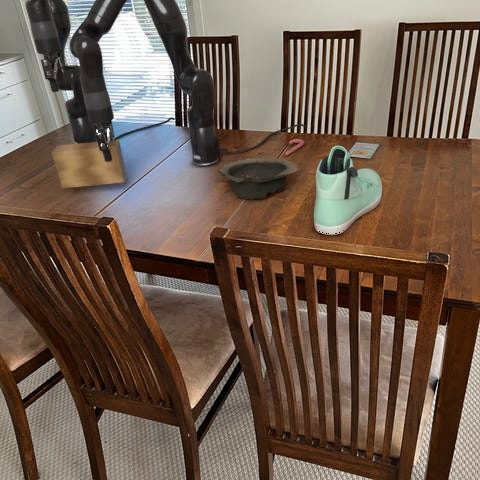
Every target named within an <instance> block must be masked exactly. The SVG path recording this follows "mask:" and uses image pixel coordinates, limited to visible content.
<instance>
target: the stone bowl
mask: <svg viewBox="0 0 480 480" xmlns="http://www.w3.org/2000/svg"><path fill="white" fill-rule="evenodd" d="M298 170H299V169H298V167H297V166H296V164H295V163H293V162H291V161H289V160H287V159H281V158H272V157H271V158H269V157H255V158H243V159H239V160H235V161H232V162H231V161H230V162H228V163H225V164H223V165H222V166H221V168H220V169H219V170H217V173H219V174H220V175H221V176H223V177H224V178H226V179H227V180H228V182H229V186H230V188H231V190H232V191H234V192H235V193H236V196H237V198H239V199H241V200H243V199H245V200H251V201H252V200H255V199H257V200H262V199H264V198H266V197H267V196H268V193H269V194H273V193H281V192H282V191H284V190H285V189H284V188H285V185H286V183H287V182H286V181H287V177H289V176H290V175H292V174H294V173H296V172H297V171H298Z"/></svg>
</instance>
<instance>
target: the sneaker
mask: <svg viewBox="0 0 480 480" xmlns="http://www.w3.org/2000/svg"><path fill="white" fill-rule="evenodd" d="M348 152H349V151H348V150H347V148H345V147H344V146H342V145H334V146H333V147H331V149H330V151H329V154H327V155H326V156H325V157H324V158H322V159H321V160H320V161H319V163H318V164H317V165H318V166H317V168H316V172H315V201H314V207H313V225H314V229H315V231H316V232H318V233H320V234H323V235H326V236H327V235H328V236H336V235H339V234H342V233H344V232H345V231H347V230H348V229H349V228H350V227H351V226H352V225H353V224H354V222H356V221H357V220H358V219H359V218H360V217H362V216H363V215H365V214H367V213H370V212H372V210H374V209H375V208H377V207H378V205H380V203H381V200H382V196H383V184H382V183H383V182H382V179H381V176H380V175H379V173H378V172H377V171H376V170H374V169H372V168H367V167H365V168H358V169H357V168H355V167H354V161H353V159H352V158H351V156H349V153H348ZM343 230H344V231H343ZM319 231H320V232H319ZM322 232H323V233H322ZM339 232H340V233H339ZM326 233H327V234H326ZM328 233H329V234H328ZM335 233H337V234H335Z"/></svg>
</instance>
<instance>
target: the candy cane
mask: <svg viewBox="0 0 480 480" xmlns="http://www.w3.org/2000/svg"><path fill="white" fill-rule="evenodd" d="M293 144H296V145H295V146H293V147H292V148H290V149H289V150H286V152H285V153H284V155H285V156H289V155H291V154H292V153H294V152H296V151H297V150H298V149H300V148H301V147H303V146H304V145H305V141H304V140H303V139H300V138H294V139H291V140H289V141H288V145H290V146H291V145H293Z"/></svg>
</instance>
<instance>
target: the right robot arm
mask: <svg viewBox="0 0 480 480" xmlns="http://www.w3.org/2000/svg"><path fill="white" fill-rule="evenodd" d="M127 1H128V0H94V2H93V4H92V6H91V7H90V9H89V12H88V13H87V16H86V17H85V18H84V20H83V21H82V22H81V23H80V25H79V26H78V27H77V28H76V30H75V32H74V33H73V34H72V36H71V39H70V40H69V51H70V53H71V54H72V56H73V57H74V58H76V59H78V63H79V66H80V69H81V73H80V75H79V76H80V82H81V86H82V90H83V95H84V102H85V106H86V110H87V114H88V118H89V121H90V122H91V123H93V124H96V125H97V128H96V133H95V136H96V139H97V142H98V146H99V150H100V151H103V155H104V159H105V161H106V162H107V161H112V156H111V152H110V146H109V142H110V141H112V140H114V138H115V137H116V135H115V131H114V127H113V120H114V119H115V115H114V112H113V106H112V102H111V98H110V94H109V91H108V88H107V84H106V79H105V76H104V62H103V53H102V48H101V46H100V43H99V42H100V40H102V38H103V37H104V36H105V35H107V34H108V33H109V32H111V30H112V28H113V26H114V24H115V22H116V20H117V19H118V17H119V15H120V13H121V11H122V9H123V8H124V6H125V5H126V3H127ZM143 2H144V4H145V7H146V9H147V11H148V14H149V16H150V19H151V21H152V24H153V26H154V29H155V30H156V33H157V34H158V36H159V38H160V40H161V43H162V45H163V47H164V49H165V52H166V54H167V56H168V58H169V60H170V63H171V65H172V69H173V71H174V75H175V77H176V81H177V83H178V86H179V88H180V90H181V91H182V92H183V94H186V95H187V96H190V97H191V106H189V107H188V108H187V109H186V116H187V124H188V131H189V132H188V133H189V139H190V148H191V155H192V164H193V165H194V166H196V167H211V166H214V165H216V164H217V163H218V162H220V161H221V155H223V154H224V152H225V153H226V154H228V155H234V154H241V153H246V152H248V151H252V150H254V149H256V148H258V147H260V146H261V145H263V144H264V143H266V142H267V141H268V139H270V138H271V137H273V136H274V135H276V134H278V133H281V132H285V131H287V130H290V129H294V128H295V127H303V128H307V126H306V124H303V123H297V124H294V125H291V126H289V127H285V128H282V129H278V130H276V131H274V132H272V133H270V134H268V135H267V136H266V138H264V139H263V140H262V141H261V142H259V143H257V144H256V145H254V146H252V147H249V148H245V149H242V150H238V151H228V149H227V148H225V147H222V146H220V142H219V141H220V140H219V135H217V133H216V125H215V124H216V123H215V115H214V110H215V108H216V107H215V106H216V96H215V84H214V83H215V82H214V79H213V78H214V77H213V76H212V74H211V73H210V72H209V71H208V70H206V69H203V68H197V67H196V65H195V63H194V61H193V59H192V56H191V55H190V52H189V47H188V46H189V45H188V28H187V24H186V21H185V18H184V15H183V13H182V11H181V8H180V6H179V5H178V3H177V1H176V0H143ZM103 144H105V146H103Z"/></svg>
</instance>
